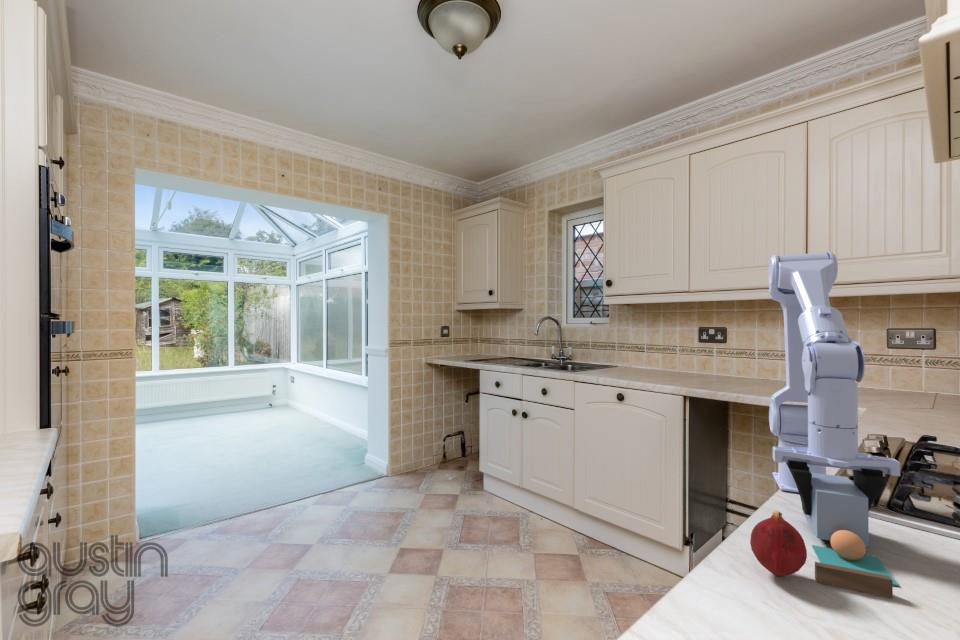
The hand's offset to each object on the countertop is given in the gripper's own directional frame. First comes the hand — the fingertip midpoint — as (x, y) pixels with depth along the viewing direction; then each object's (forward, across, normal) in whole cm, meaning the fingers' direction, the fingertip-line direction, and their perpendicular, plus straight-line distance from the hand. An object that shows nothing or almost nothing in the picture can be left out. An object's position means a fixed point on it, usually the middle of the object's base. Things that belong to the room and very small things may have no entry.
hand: (832, 516), depth 64 cm
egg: (+1, 0, -7) cm, 7 cm away
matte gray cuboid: (+2, 0, 0) cm, 2 cm away
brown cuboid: (+3, -2, -14) cm, 15 cm away
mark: (+3, 0, -8) cm, 9 cm away
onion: (+3, -9, -16) cm, 18 cm away
